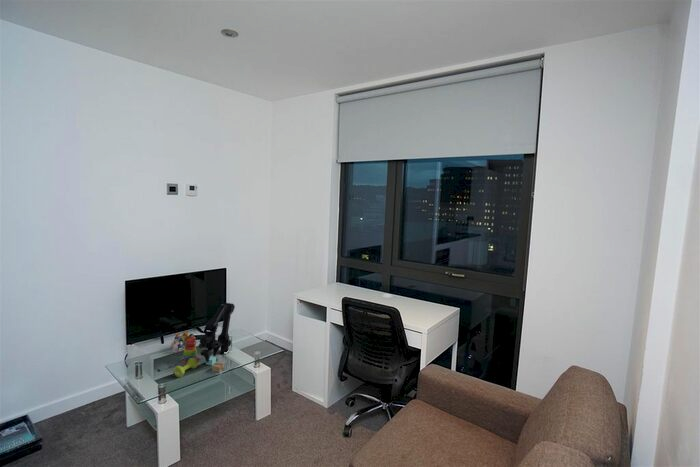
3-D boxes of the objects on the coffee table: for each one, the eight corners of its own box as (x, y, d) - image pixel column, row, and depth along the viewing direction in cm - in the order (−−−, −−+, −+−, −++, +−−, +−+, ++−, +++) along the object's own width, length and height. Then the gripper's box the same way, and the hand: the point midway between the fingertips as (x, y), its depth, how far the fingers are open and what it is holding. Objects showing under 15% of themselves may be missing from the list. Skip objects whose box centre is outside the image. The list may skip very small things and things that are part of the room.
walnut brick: (216, 367, 257) (216, 361, 256) (224, 368, 256) (224, 362, 255) (211, 371, 251) (212, 365, 251) (219, 372, 250) (219, 366, 250)
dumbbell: (190, 365, 258) (190, 356, 257) (199, 367, 256) (199, 358, 255) (172, 376, 243) (172, 366, 242) (181, 379, 240) (181, 369, 239)
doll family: (172, 355, 270) (172, 339, 269) (164, 351, 275) (164, 335, 273) (196, 345, 289) (196, 330, 287) (188, 342, 293) (189, 327, 292)
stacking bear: (192, 365, 258) (192, 342, 255) (179, 363, 260) (179, 340, 257) (201, 358, 268) (201, 336, 266) (189, 356, 270) (189, 334, 268)
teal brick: (209, 361, 265) (209, 356, 265) (215, 362, 264) (215, 357, 264) (205, 365, 260) (205, 359, 260) (212, 366, 259) (212, 360, 259)
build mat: (215, 366, 259) (215, 365, 259) (228, 368, 258) (228, 367, 258) (207, 373, 250) (207, 372, 250) (220, 375, 248) (220, 374, 248)
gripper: (208, 332, 270) (208, 351, 272) (193, 343, 252) (193, 363, 254) (221, 334, 268) (221, 354, 270) (207, 345, 250) (207, 366, 252)
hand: (211, 359), depth 262 cm, fingers open, 9 cm apart
